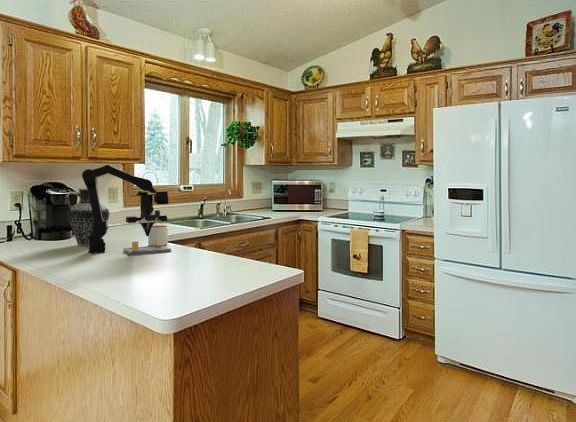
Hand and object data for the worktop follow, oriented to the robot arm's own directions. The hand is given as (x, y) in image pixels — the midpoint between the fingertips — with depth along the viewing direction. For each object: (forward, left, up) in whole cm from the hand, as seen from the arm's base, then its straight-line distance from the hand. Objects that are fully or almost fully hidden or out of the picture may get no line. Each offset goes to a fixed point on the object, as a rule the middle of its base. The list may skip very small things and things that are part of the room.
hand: (147, 236), depth 197 cm
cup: (+9, +12, -7) cm, 17 cm away
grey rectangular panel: (-1, -4, -7) cm, 8 cm away
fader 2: (+5, 0, -5) cm, 7 cm away
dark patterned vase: (-22, +30, -7) cm, 38 cm away
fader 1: (-8, -8, -5) cm, 12 cm away
